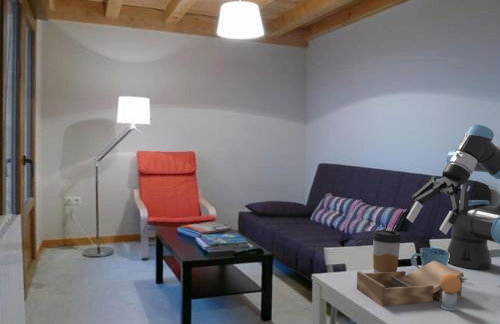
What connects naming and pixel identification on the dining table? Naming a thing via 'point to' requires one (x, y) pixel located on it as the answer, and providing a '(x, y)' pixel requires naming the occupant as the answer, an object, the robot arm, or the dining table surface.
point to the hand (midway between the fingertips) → (425, 225)
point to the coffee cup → (385, 250)
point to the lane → (406, 285)
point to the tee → (449, 301)
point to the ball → (450, 283)
